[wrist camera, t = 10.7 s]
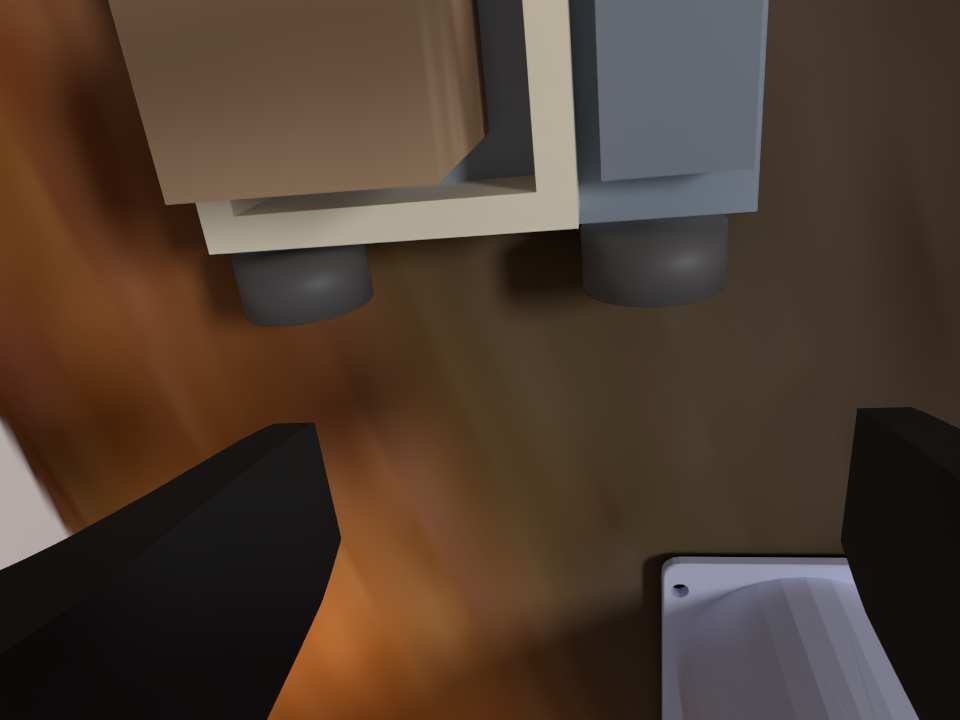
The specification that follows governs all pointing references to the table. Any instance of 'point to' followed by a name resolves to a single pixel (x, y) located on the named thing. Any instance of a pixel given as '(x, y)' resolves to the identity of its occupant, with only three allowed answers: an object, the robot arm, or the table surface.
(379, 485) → the table surface
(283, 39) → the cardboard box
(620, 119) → the toy truck
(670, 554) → the table surface
